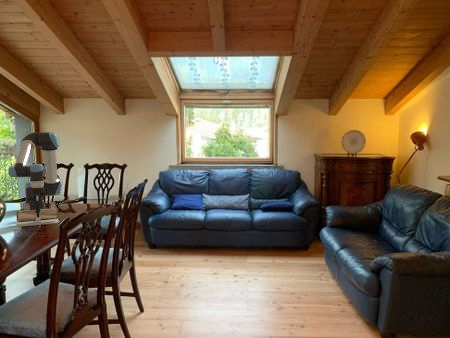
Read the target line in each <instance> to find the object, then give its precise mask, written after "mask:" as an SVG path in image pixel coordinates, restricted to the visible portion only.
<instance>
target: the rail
mask: <svg viewBox="0 0 450 338" xmlns="http://www.w3.org/2000/svg"><path fill="white" fill-rule="evenodd" d="M35 211H36V210H24V209H23V210H16V222H25V221H24V220H31V221H34V220H35V221H36V213H35ZM40 216H41V220H43V219H44V220H46V219H49V218H53V219H57V218H59V207H55V208H51V207H50V208H44V209H40ZM56 217H57V218H56Z"/></svg>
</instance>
